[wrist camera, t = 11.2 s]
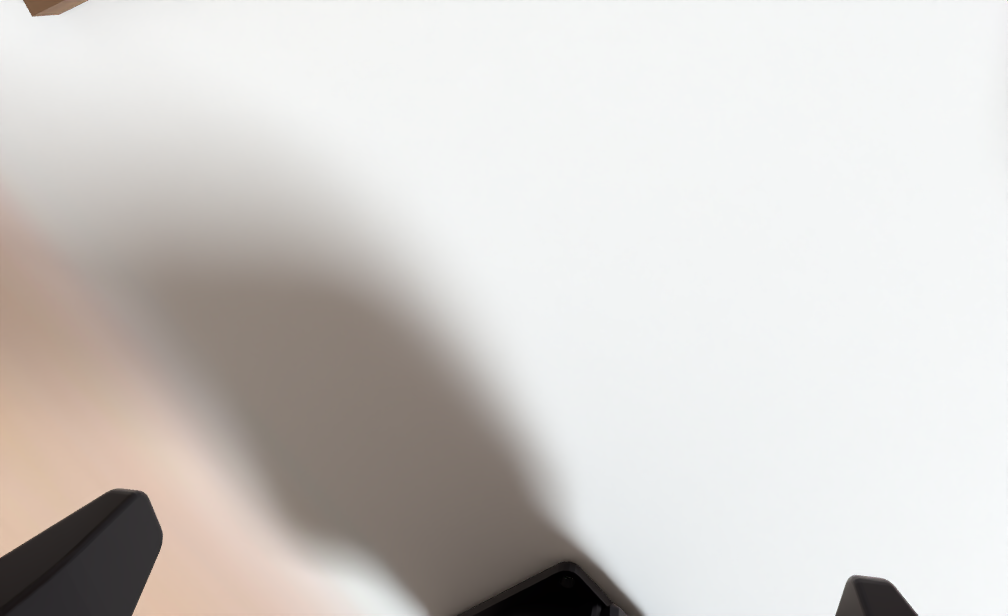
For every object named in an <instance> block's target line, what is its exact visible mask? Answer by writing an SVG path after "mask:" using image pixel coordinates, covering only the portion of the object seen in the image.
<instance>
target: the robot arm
mask: <svg viewBox="0 0 1008 616" xmlns="http://www.w3.org/2000/svg"><path fill="white" fill-rule="evenodd" d="M162 540H163V533H162V529H161V526H160V524H159V521H158V519H157V517H156V514H155V512H154V509H153V507H152V505H151V502H150V500H149V498H148V496H147V495H146V494H145V493H144V492H142V491H138V490H130V489H113V490H110V491H108V492H106V493H105V494H103V495H101V496H100V497H98V498H97V499H95V500H93V501H92V502H90V503H89V504H87V505H85V506H84V507H82V508H80V509H79V510H77V511H76V512H74V513H72V514H71V515H69V516H67V517H66V518H64V519H63V520H61V521H59V522H58V523H56V524H54V525H53V526H51V527H50V528H48V529H46V530H45V531H43V532H41V533H40V534H38V535H37V536H35V537H33V538H32V539H30V540H28V541H27V542H25V543H24V544H22V545H20V546H19V547H17V548H15V549H14V550H12V551H11V552H9V553H7V554H6V555H4V556H3V557H1V558H0V616H132V614H133V612H134V610H135V607H136V605H137V603H138V600H139V598H140V596H141V593H142V591H143V589H144V586H145V584H146V582H147V579H148V577H149V575H150V573H151V570H152V568H153V566H154V563H155V561H156V559H157V556H158V554H159V552H160V549H161V545H162ZM564 576H569V577H571V578H573V579H566V578H564ZM458 616H628V615H627V614H626V613H625V612H624V611H623V610H622V609H621V608H620V607H618V606H616V605H615V604H614V603H613V602H612V601H611V600H610V599H609V598H608V597H607V596H606V595H605V594H604V593H603V591H602V590H601V589H600V588H599V587H598V586H597V585H596V584H595V583H594V582H593V581H592V580H591V578H590V577H589V576H588V575H587V574H586V573H585V572H584V571H583V570H582V569H581V568H580V567H579V566H578V565H576V564H574V563H571V562H562V563H559V564H557V565H555V566H553V567H551V568H549V569H547V570H545V571H544V572H542V573H540V574H538V575H536V576H534V577H532V578H530V579H528V580H526V581H524V582H522V583H520V584H518V585H516V586H514V587H513V588H511V589H509V590H507V591H505V592H503V593H501V594H499V595H497V596H495V597H493V598H491V599H489V600H487V601H485V602H483V603H482V604H480V605H478V606H476V607H474V608H472V609H470V610H468V611H466V612H464V613H462V614H460V615H458ZM835 616H918V614H917V613H916V612H915V611H914V610H913V608H912V607H911V606H910V605H909V603H908V602H907V601H906V600H905V598H904V597H903V596H902V595H901V594H900V592H899V591H898V590H897V589H896V587H895V586H894V585H893V584H892V583H891V582H889V581H888V580H886V579H883V578H877V577H868V576H860V575H853V576H851V577H850V578H849V579H848V580H847V582H846V585H845V588H844V591H843V594H842V597H841V600H840V603H839V606H838V609H837V612H836V615H835Z"/></svg>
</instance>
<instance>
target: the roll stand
mask: <svg viewBox="0 0 1008 616" xmlns="http://www.w3.org/2000/svg"><path fill="white" fill-rule="evenodd" d="M23 1H24V3H25V4H26V6H27V8H28V10H29V12H30V13H31V15H32V16H46V15H59V14H61V13H63V12H65V11H67V10H69V9H72V8H74V7H76V6H78V5H80V4H82V3H84V2H86V1H88V0H23Z"/></svg>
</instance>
